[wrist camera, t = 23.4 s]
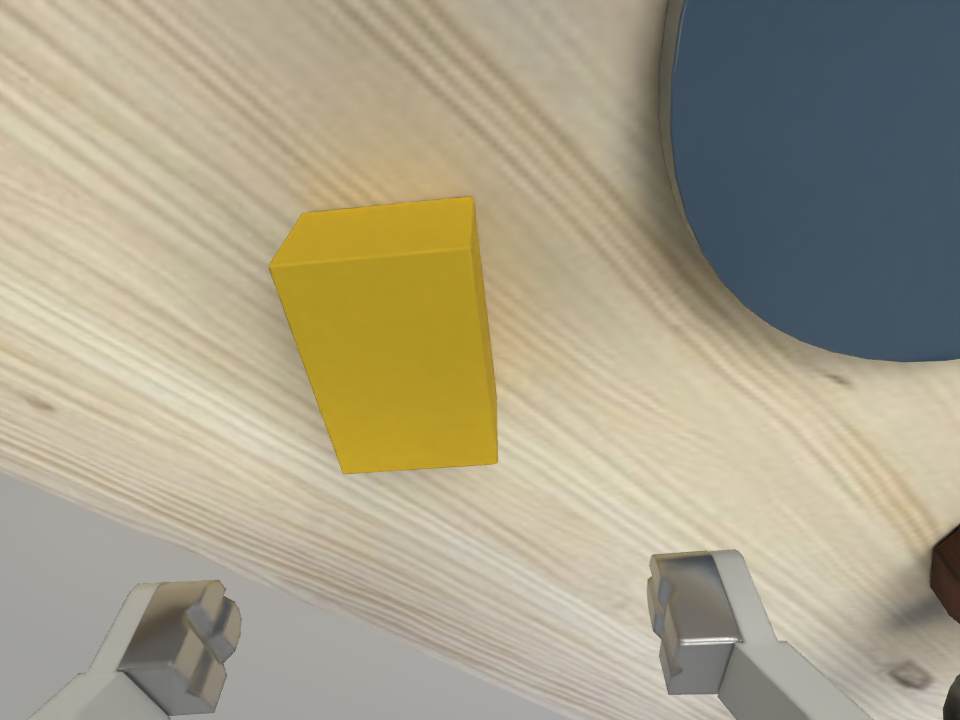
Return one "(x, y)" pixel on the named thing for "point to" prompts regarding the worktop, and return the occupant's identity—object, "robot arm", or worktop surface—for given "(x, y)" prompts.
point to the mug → (949, 603)
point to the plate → (822, 164)
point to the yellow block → (394, 332)
